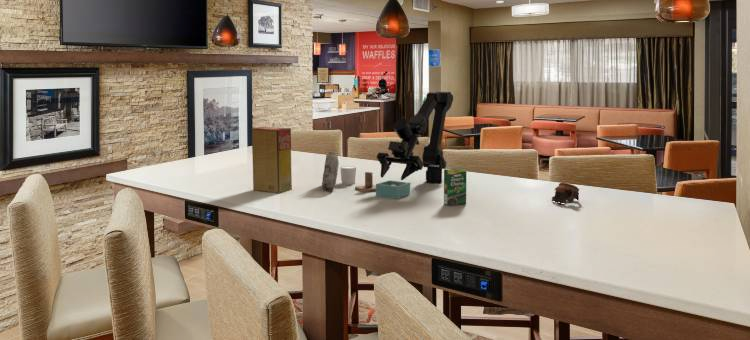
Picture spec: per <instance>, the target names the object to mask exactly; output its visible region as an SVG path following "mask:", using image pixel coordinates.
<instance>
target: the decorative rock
mask: <svg viewBox="0 0 750 340" xmlns="http://www.w3.org/2000/svg"><path fill="white" fill-rule="evenodd" d="M338 156H339V155H338V153H335V152H333V151H327V153H326V156H325V161H324V167H323V168H324V169H323V174H322V182H321V187H322V189H325V190H333V189H335V186H336V185H337V177H338V171H339V157H338Z"/></svg>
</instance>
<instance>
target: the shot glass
mask: <svg viewBox="0 0 750 340" xmlns="http://www.w3.org/2000/svg"><path fill="white" fill-rule="evenodd" d="M339 170H340V179H341V184H342V185H348V186H350V185H355V183H356V173H357V167H356V166H355V165H354V166H353V165H345V166H340V167H339Z"/></svg>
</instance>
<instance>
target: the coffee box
mask: <svg viewBox="0 0 750 340" xmlns="http://www.w3.org/2000/svg"><path fill="white" fill-rule="evenodd" d="M443 205H445V206H446V207H448V206H450V207H451V206H457V205H467V168H465V167H456V168H445V169H443Z"/></svg>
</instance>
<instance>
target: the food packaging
mask: <svg viewBox="0 0 750 340" xmlns="http://www.w3.org/2000/svg"><path fill="white" fill-rule="evenodd" d="M291 131H292V128H290V127H276V126H274V127H273V126H260V127H252V128H251V146H252V147H251V149H252V152H251V153H252V181H253V182H252V186H253V191H258V192H264V193H271V194H282V193H284V192H285V193H286V192H288V191H293V188H292V187H293V185H292V184H293V183H292V179H293V178H292V132H291Z"/></svg>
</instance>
